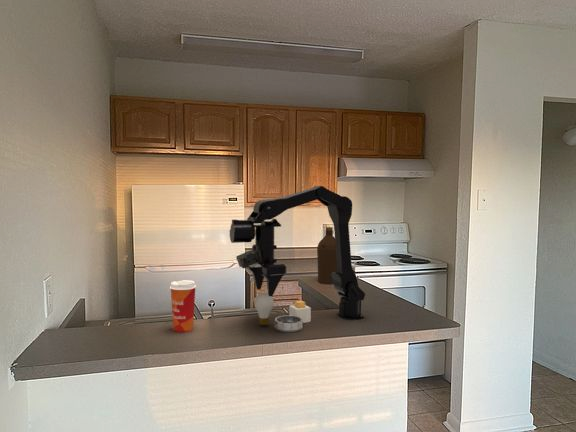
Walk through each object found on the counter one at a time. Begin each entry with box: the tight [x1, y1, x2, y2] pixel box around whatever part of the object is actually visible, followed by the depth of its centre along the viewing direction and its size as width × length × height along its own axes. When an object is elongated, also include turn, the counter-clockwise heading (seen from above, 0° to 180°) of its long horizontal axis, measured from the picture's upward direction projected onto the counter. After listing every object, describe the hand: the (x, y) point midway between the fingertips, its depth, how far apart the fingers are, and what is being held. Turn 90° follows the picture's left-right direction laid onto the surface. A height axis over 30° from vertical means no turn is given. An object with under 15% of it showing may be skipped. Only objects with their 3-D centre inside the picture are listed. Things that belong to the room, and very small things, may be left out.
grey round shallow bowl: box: [274, 314, 304, 334], centre depth 128 cm, size 8×8×3 cm
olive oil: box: [316, 226, 337, 285], centre depth 192 cm, size 11×11×25 cm
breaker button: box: [294, 300, 306, 308], centre depth 135 cm, size 2×2×3 cm
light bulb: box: [253, 292, 275, 327], centre depth 129 cm, size 6×6×10 cm
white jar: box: [288, 304, 312, 324], centre depth 135 cm, size 5×5×5 cm
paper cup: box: [169, 279, 197, 333], centre depth 125 cm, size 8×8×14 cm
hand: (264, 292), depth 129 cm, fingers open, 9 cm apart
